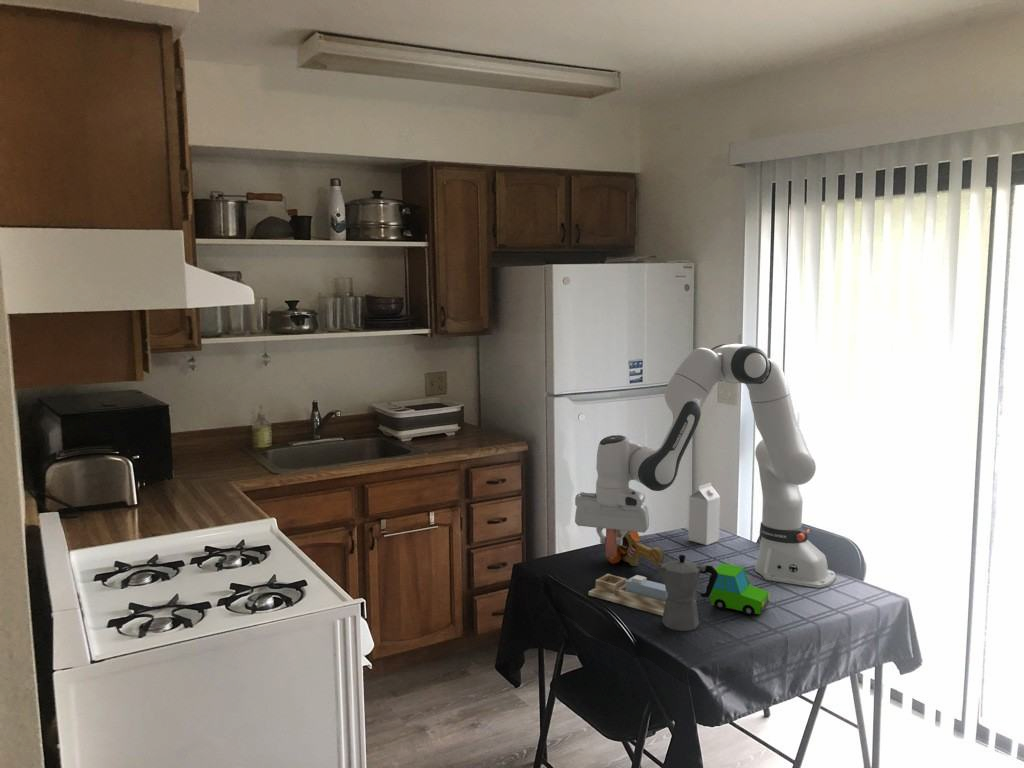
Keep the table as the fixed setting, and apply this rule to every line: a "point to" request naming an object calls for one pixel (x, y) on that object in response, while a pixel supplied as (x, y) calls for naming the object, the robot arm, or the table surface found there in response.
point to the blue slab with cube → (646, 588)
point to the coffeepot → (683, 592)
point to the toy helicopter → (635, 550)
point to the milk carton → (704, 515)
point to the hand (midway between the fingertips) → (611, 543)
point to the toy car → (737, 591)
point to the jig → (624, 595)
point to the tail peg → (611, 543)
